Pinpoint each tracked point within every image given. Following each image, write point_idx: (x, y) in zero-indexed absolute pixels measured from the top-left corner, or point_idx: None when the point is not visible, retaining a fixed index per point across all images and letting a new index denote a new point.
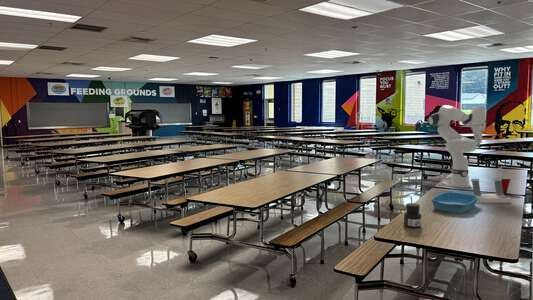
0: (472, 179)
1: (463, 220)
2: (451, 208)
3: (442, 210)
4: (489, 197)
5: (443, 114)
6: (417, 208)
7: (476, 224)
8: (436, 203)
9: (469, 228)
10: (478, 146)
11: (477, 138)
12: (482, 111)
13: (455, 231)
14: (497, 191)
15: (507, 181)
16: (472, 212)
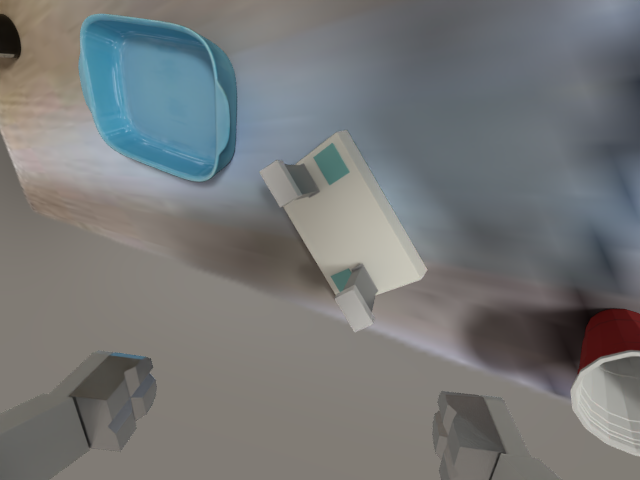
0: (265, 168)
1: (98, 139)
2: (110, 100)
3: (122, 70)
4: (313, 227)
5: None
6: None
7: (95, 168)
8: (92, 46)
9: (71, 155)
10: (437, 420)
11: (13, 472)
12: None
13: (45, 130)
14: (351, 274)
15: (585, 400)
16: None
